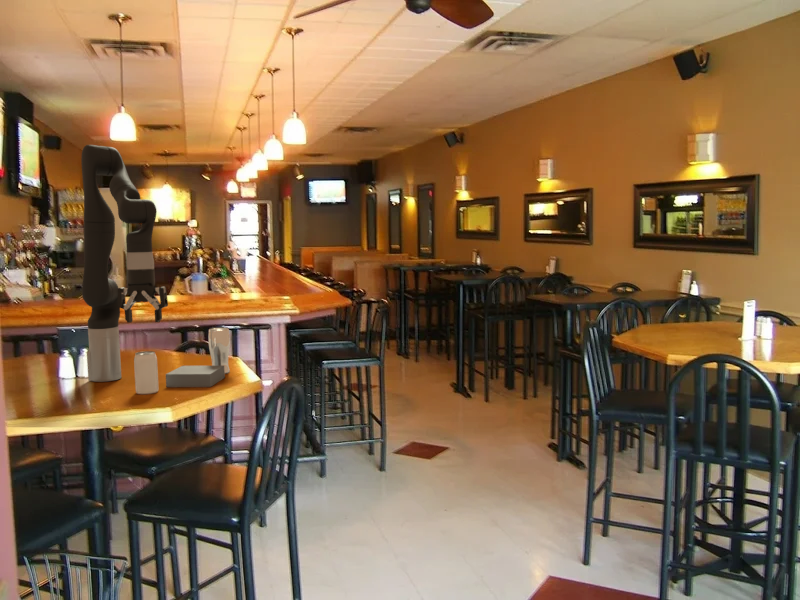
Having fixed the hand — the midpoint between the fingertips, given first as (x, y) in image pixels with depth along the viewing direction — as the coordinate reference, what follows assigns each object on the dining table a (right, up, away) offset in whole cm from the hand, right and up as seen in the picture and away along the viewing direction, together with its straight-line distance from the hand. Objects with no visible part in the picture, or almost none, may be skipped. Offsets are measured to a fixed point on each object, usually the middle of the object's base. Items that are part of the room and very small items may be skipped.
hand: (143, 322), depth 210 cm
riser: (+11, -20, +15) cm, 27 cm away
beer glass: (+15, -18, +30) cm, 38 cm away
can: (0, -21, +2) cm, 21 cm away
